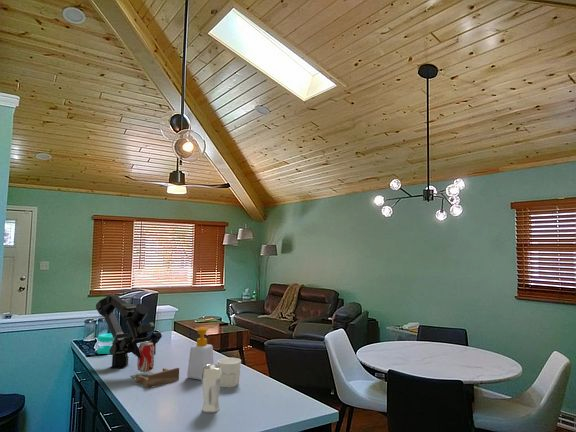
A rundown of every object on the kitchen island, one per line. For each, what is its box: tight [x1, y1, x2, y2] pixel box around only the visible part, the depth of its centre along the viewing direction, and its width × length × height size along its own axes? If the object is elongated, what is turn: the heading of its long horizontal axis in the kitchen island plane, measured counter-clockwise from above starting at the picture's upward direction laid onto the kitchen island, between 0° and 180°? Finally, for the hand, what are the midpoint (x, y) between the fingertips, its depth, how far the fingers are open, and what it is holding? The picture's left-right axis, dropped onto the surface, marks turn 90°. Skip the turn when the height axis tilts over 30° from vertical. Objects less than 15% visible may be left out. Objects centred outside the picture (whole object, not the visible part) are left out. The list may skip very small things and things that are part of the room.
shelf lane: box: [135, 367, 180, 389], centre depth 175 cm, size 11×14×5 cm
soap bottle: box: [186, 326, 215, 381], centre depth 184 cm, size 10×14×22 cm
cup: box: [217, 357, 242, 388], centre depth 172 cm, size 10×10×10 cm
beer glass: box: [201, 363, 221, 414], centre depth 144 cm, size 7×7×15 cm
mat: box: [130, 371, 154, 379], centre depth 181 cm, size 9×9×1 cm
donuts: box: [96, 332, 113, 355], centre depth 222 cm, size 10×10×10 cm
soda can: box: [137, 341, 155, 373], centre depth 182 cm, size 7×7×12 cm
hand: (147, 356), depth 181 cm, fingers closed on soda can, 7 cm apart
